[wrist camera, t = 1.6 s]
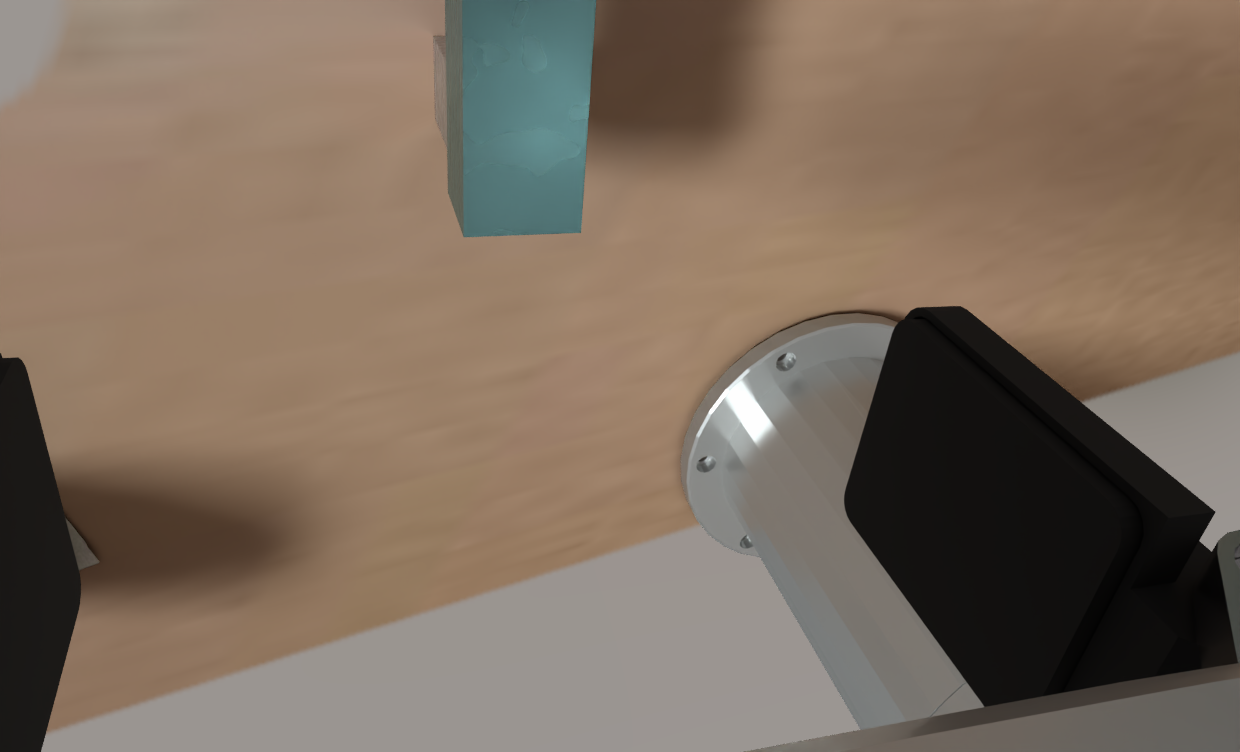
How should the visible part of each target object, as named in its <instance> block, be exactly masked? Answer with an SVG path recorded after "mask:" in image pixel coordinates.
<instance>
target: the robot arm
mask: <svg viewBox="0 0 1240 752" xmlns="http://www.w3.org/2000/svg"><path fill="white" fill-rule="evenodd" d="M681 482H682V486H683V489H684V493H685V497H686V500H687V502H688V504H689V505H690V507H691V509H692V511H693V513H694V515H695V517H696V519H697V521H698V522H699V523H700V525H701V526H702V527H703V528H704V530H705V531H706V532H707V533H708V534H709V535H710V536H711V537H712V538H714V539H715V540H716V541H718V542H719V543H720V544H722V545H723V546H725V547H727V548H729V549H732V550H734V551H736V552H738V553H741V554H746V555H751V556H756V557H760V558H761V560H762V561H763V563H764V565H765V567H766V568H767V570H768V572H769V573H770V575H771V577H772V579H773V580H774V582H775V583H776V585H777V587H778V589H779V591H780V592H781V594H782V596H783V597H784V599H785V601H786V602H787V604H788V606H789V607H790V609H791V611H792V613H793V615H794V616H795V618H796V620H797V621H798V623H799V625H800V627H801V628H802V630H803V632H804V633H805V635H806V637H807V639H808V640H809V642H810V643H811V645H812V647H813V649H814V651H815V652H816V654H817V656H818V657H819V659H820V661H821V663H822V664H823V666H824V668H825V669H826V671H827V673H828V675H829V676H830V678H831V680H832V681H833V683H834V685H835V687H836V688H837V690H838V692H839V693H840V695H841V697H842V699H843V700H844V702H845V704H846V706H847V707H848V709H849V711H850V712H851V714H852V715H853V718H854V719H855V721H856V722H857V724H858V726H859V728H860V730H857V731H853V732H847V733H841V734H836V735H831V736H825V737H820V738H815V739H809V740H804V741H799V742H793V743H788V744H783V745H778V746H772V747H767V748H761V749H756V750H751V751H745V752H1240V530H1238V531H1233V532H1229V533H1227V534H1226V535H1224V536H1223V537H1222V538H1221V539H1220V540H1219V541H1218V543H1217V544H1216V546H1215V548H1214V549H1213V551H1212V552H1211V551H1210V550H1209V549H1208V548H1206V547H1205V546H1204V545H1203V544H1202V543H1201V542H1199V540H1200V538H1201V536H1202V535H1203V533H1204V531H1205V529H1206V528H1207V526H1208V524H1209V522H1210V521H1211V519H1212V517H1213V515H1214V514H1215V511H1214V510H1213V509H1211V508H1210V507H1209V506H1207V505H1206V504H1205V503H1204V502H1203V501H1201V500H1200V499H1199V498H1198V497H1196V496H1195V495H1194V494H1193V493H1191V492H1190V491H1189V490H1188V489H1187V488H1186V487H1184V486H1183V485H1182V484H1181V483H1179V482H1178V481H1177V480H1176V479H1174V478H1173V477H1172V476H1171V475H1170V474H1168V473H1167V472H1166V471H1165V470H1163V469H1162V468H1161V467H1160V466H1158V465H1157V464H1156V463H1155V462H1153V461H1152V460H1151V459H1150V458H1149V457H1147V456H1146V455H1145V454H1144V453H1142V452H1141V451H1140V450H1139V449H1138V448H1136V447H1135V446H1134V445H1133V444H1131V443H1130V442H1129V441H1128V440H1126V439H1125V438H1124V437H1123V436H1122V435H1120V434H1119V433H1118V432H1117V431H1115V430H1114V429H1113V428H1112V427H1111V426H1109V425H1108V424H1107V423H1106V422H1104V421H1103V420H1102V419H1101V418H1099V417H1098V416H1097V415H1096V414H1095V413H1093V412H1092V411H1091V410H1090V409H1088V408H1087V407H1086V406H1085V405H1083V404H1082V403H1081V402H1080V401H1079V400H1077V399H1076V398H1075V397H1074V396H1072V395H1071V394H1070V393H1069V392H1067V391H1066V390H1065V389H1064V388H1063V387H1061V386H1060V385H1059V384H1058V383H1056V382H1055V381H1054V380H1053V379H1052V378H1050V377H1049V376H1048V375H1047V374H1045V373H1044V372H1043V371H1042V370H1040V369H1039V368H1038V367H1037V366H1036V365H1034V364H1033V363H1032V362H1031V361H1029V360H1028V359H1027V358H1026V357H1024V356H1023V355H1022V354H1021V353H1020V352H1018V351H1017V350H1016V349H1015V348H1013V347H1012V346H1011V345H1010V344H1008V343H1007V342H1006V341H1005V340H1004V339H1002V338H1001V337H1000V336H999V335H997V334H996V333H995V332H994V331H992V330H991V329H990V328H989V327H988V326H986V325H985V324H984V323H983V322H981V321H980V320H979V319H978V318H977V317H975V316H974V315H973V314H972V313H970V312H969V311H968V310H966V309H965V308H963V307H961V306H947V307H921V308H915V309H913V310H911V311H910V312H909V314H908V315H907V316H906V317H905V320H902V321H900V322H896V321H893V320H891V319H888V318H885V317H882V316H876V315H868V314H860V313H853V314H839V315H830V316H826V317H821V318H817V319H813V320H809V321H805V322H803V323H800V324H798V325H796V326H793V327H791V328H788V329H786V330H784V331H781V332H779V333H777V334H775V335H774V336H772V337H770V338H769V339H767V340H766V341H764V342H762V343H761V344H759V345H757V346H756V347H754V348H752V349H751V350H750V351H749V352H748V353H746V354H745V355H744V356H743V357H742V358H740V359H739V360H738V361H737V362H736V363H734V364H733V365H732V366H731V367H730V368H729V369H728V370H727V371H726V372H725V373H724V374H723V375H722V376H721V378H720V379H719V380H718V381H717V382H716V383H715V384H714V385H713V387H712V388H711V389H710V390H709V392H708V393H707V395H706V396H705V398H704V399H703V401H702V403H701V404H700V406H699V407H698V409H697V410H696V412H695V414H694V416H693V419H692V421H691V424H690V426H689V428H688V431H687V433H686V436H685V440H684V445H683V450H682V455H681ZM80 597H81V582H80V574H79V568H78V565H77V561H76V557H75V553H74V549H73V545H72V542H71V538H70V534H69V530H68V526H67V522H66V519H65V515H64V511H63V507H62V503H61V499H60V496H59V492H58V488H57V484H56V480H55V476H54V473H53V469H52V465H51V461H50V457H49V453H48V450H47V446H46V442H45V438H44V434H43V430H42V427H41V423H40V419H39V415H38V411H37V407H36V404H35V400H34V396H33V392H32V388H31V384H30V381H29V377H28V373H27V370H26V367H25V365H24V363H23V361H22V360H21V359H19V358H2V355H1V353H0V752H41V749H42V745H43V742H44V738H45V734H46V730H47V727H48V723H49V719H50V715H51V712H52V708H53V704H54V701H55V697H56V693H57V689H58V686H59V682H60V678H61V674H62V671H63V667H64V663H65V659H66V656H67V652H68V648H69V644H70V641H71V637H72V633H73V629H74V626H75V622H76V618H77V614H78V611H79V605H80Z"/></svg>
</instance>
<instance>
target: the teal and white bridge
mask: <svg viewBox="0 0 1240 752" xmlns="http://www.w3.org/2000/svg"><path fill="white" fill-rule="evenodd" d="M595 10H596V0H445V31H446V36H433V43H434V88H435V119H436V122H437V124H438V127H439V130H440V132H441V135H442V137H443V140H444V142H445V145H446V148H447V159H448V194H449V197H450V199H451V202H452V205H453V208H454V211H455V214H456V217H457V219H458V222H459V225H460V228H461V231H462V234H463V237H481V236H507V235H533V234H559V233H581V223H582V208H583V193H584V177H585V162H586V147H587V132H588V117H589V101H590V86H591V71H592V56H593V41H594V25H595Z"/></svg>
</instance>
